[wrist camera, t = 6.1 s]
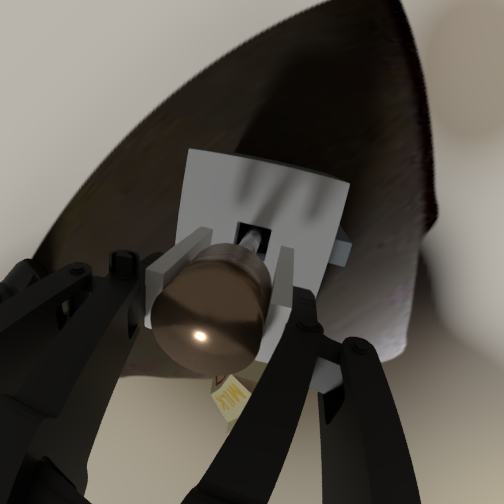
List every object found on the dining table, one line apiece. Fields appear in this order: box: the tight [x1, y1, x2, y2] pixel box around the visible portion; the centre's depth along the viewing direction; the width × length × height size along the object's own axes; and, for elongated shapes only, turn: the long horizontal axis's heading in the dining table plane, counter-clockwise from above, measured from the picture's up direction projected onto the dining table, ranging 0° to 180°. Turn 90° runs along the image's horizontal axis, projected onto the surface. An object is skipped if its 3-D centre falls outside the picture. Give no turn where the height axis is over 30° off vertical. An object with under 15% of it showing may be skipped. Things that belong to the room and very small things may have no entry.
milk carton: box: [211, 360, 268, 435], centre depth 28 cm, size 9×9×20 cm
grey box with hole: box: [175, 149, 352, 299], centre depth 26 cm, size 13×11×14 cm
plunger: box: [150, 222, 272, 376], centre depth 20 cm, size 8×8×24 cm
